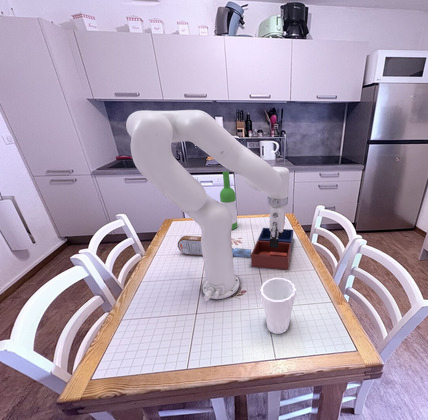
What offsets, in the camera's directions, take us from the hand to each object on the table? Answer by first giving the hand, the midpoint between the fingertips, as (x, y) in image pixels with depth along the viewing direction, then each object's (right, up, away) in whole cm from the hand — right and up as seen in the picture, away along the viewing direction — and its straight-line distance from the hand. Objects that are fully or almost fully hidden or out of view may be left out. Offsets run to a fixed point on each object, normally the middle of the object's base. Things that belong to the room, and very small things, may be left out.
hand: (275, 241), depth 93 cm
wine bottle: (-25, +3, +32) cm, 41 cm away
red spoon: (-1, -8, +4) cm, 9 cm away
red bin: (-2, -8, +5) cm, 10 cm away
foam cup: (+1, -21, -25) cm, 33 cm away
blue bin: (0, -4, +16) cm, 16 cm away
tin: (-35, -7, +8) cm, 36 cm away
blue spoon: (-16, -7, +8) cm, 19 cm away
